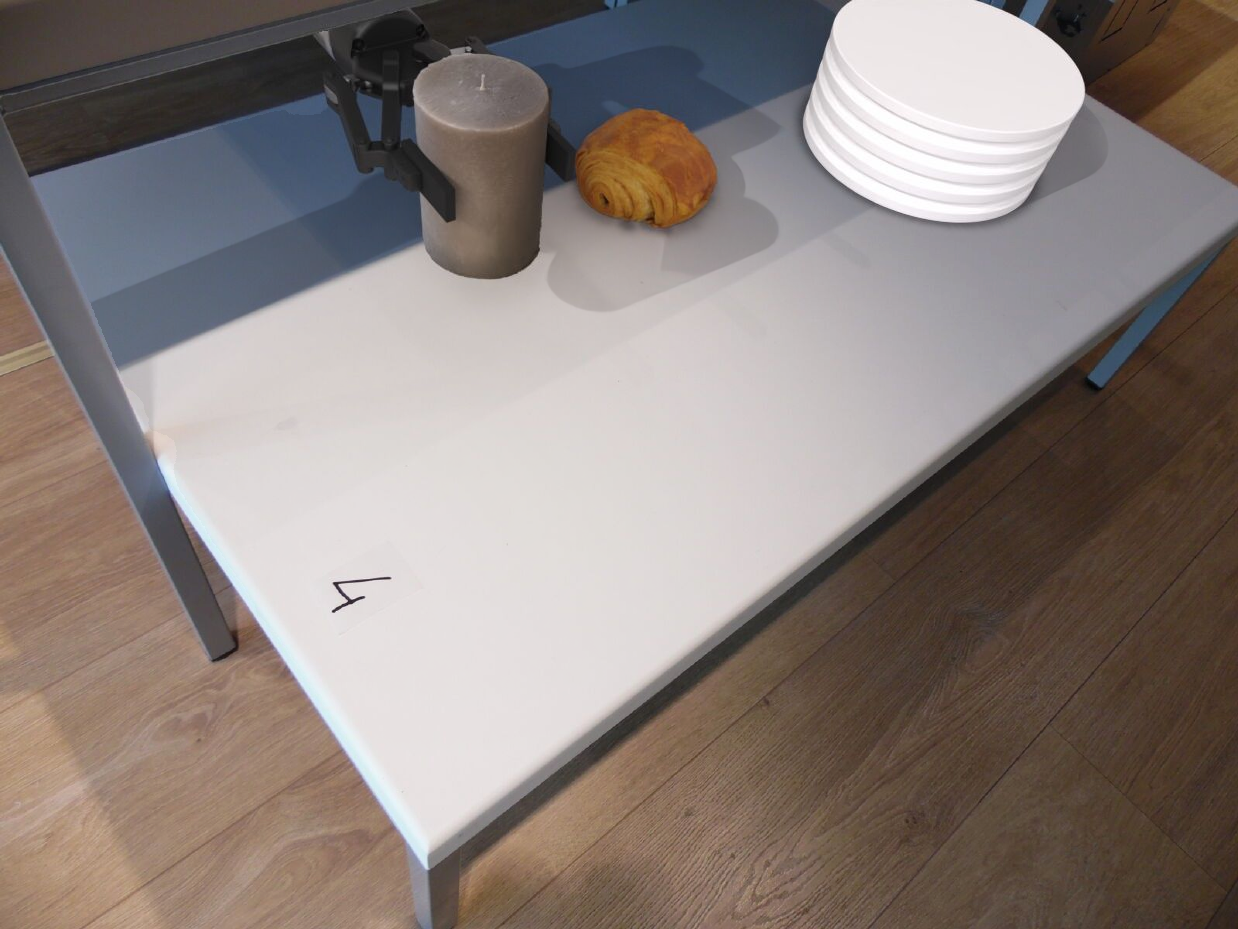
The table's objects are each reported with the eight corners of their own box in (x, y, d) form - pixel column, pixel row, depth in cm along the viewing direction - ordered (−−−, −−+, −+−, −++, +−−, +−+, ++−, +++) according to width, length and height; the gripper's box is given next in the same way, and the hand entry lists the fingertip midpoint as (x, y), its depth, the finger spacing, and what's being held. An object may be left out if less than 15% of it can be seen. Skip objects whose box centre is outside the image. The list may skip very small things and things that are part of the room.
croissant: (549, 204, 97) (545, 143, 90) (636, 127, 104) (639, 64, 97) (659, 267, 93) (664, 208, 86) (743, 182, 99) (754, 121, 92)
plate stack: (800, 62, 117) (827, -30, 107) (1012, 99, 118) (1058, 12, 109) (805, 199, 100) (839, 104, 91) (1053, 241, 101) (1111, 152, 92)
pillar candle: (562, 258, 76) (578, 93, 63) (456, 296, 71) (453, 127, 59) (502, 190, 80) (507, 23, 68) (399, 222, 76) (385, 50, 64)
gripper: (484, 46, 84) (627, 185, 75) (248, 106, 75) (378, 273, 65) (485, -37, 78) (640, 102, 69) (229, 16, 69) (368, 186, 59)
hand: (512, 185), depth 67 cm, fingers closed on pillar candle, 10 cm apart
